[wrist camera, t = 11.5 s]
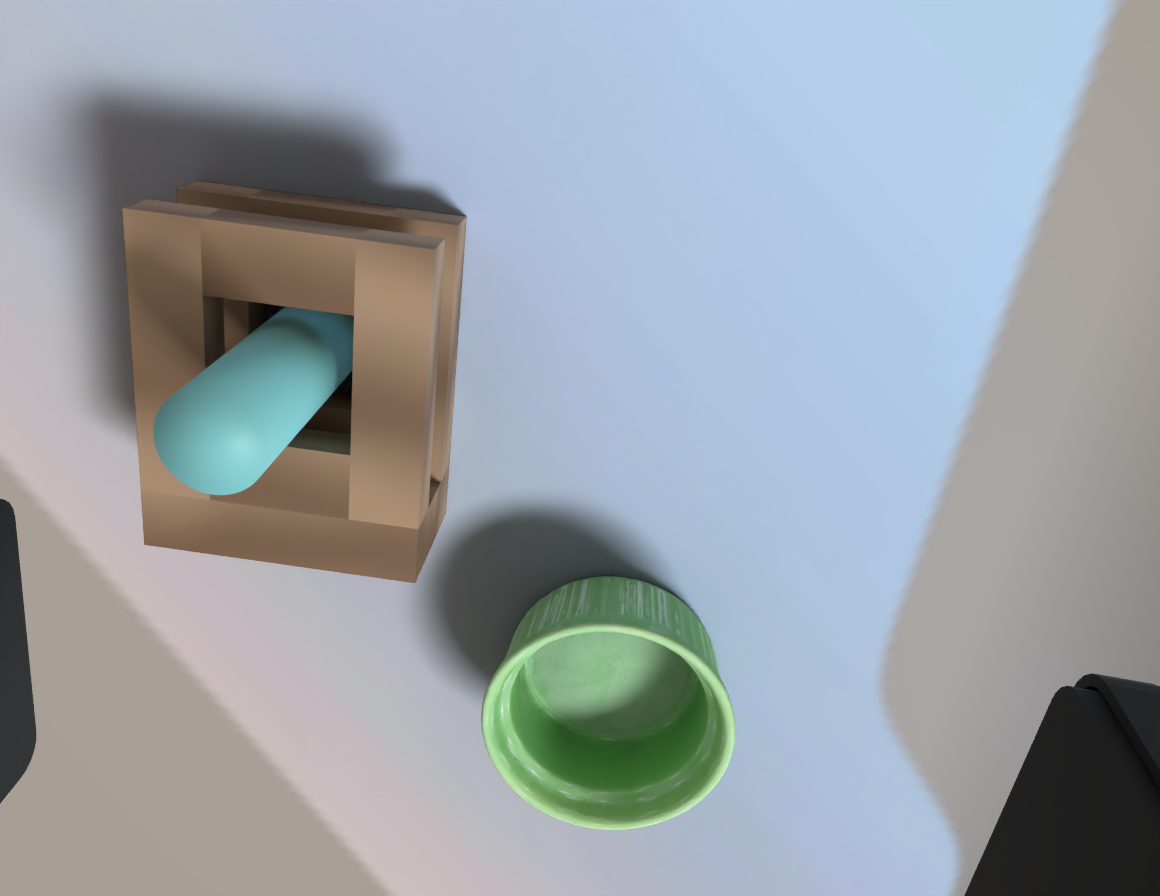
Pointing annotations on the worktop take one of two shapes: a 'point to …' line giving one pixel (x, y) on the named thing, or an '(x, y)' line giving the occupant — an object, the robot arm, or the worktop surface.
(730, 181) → the worktop surface
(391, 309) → the block
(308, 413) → the peg
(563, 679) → the ramekin
